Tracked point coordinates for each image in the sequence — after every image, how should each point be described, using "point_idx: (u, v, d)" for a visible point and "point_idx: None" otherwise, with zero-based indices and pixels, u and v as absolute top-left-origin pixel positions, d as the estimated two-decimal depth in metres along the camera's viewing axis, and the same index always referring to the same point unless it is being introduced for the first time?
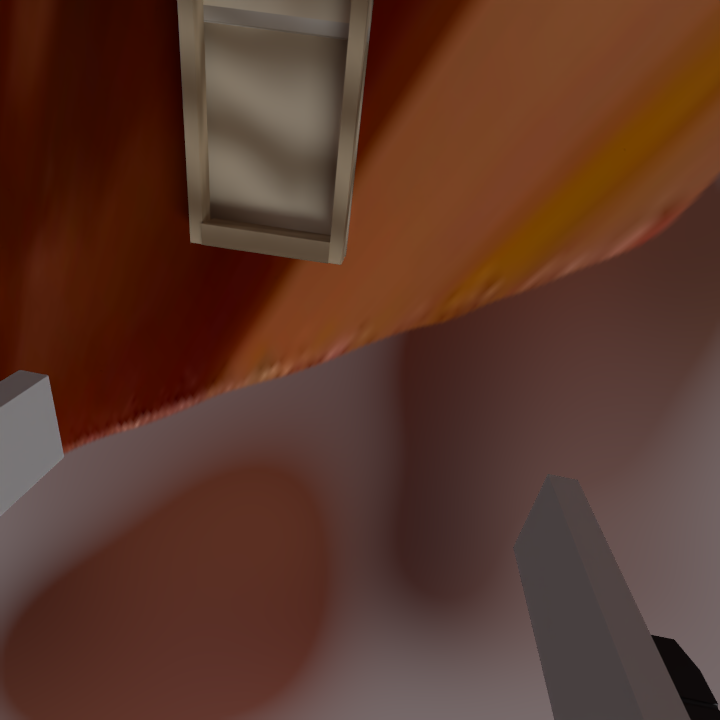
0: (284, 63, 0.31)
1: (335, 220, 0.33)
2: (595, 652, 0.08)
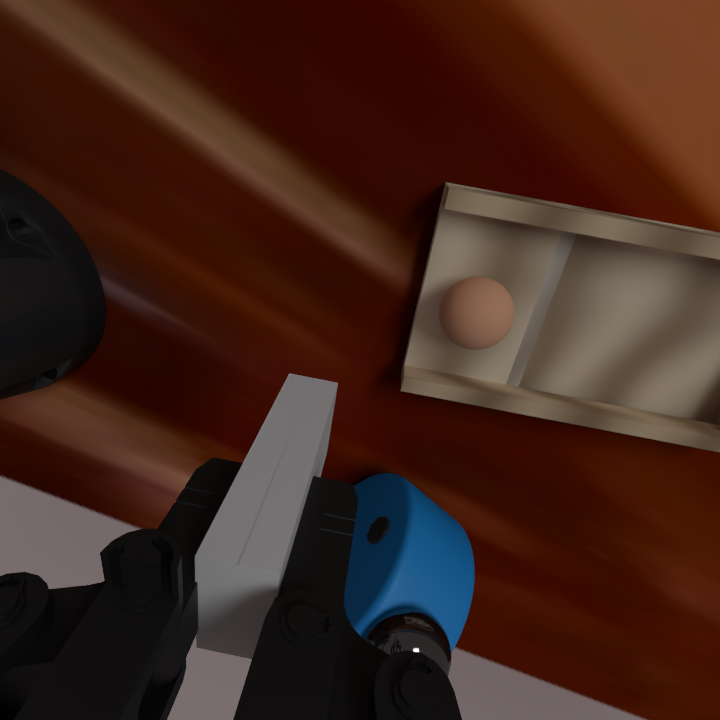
0: (573, 310, 0.27)
1: None
2: None
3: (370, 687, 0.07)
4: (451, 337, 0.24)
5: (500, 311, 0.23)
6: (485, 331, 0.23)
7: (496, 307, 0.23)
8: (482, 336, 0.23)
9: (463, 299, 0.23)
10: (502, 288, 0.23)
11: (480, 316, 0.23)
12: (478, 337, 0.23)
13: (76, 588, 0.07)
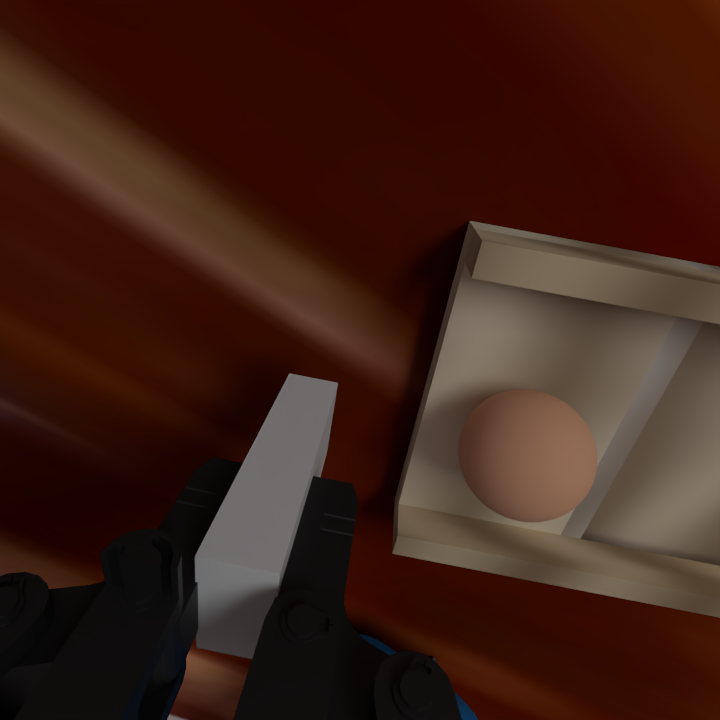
0: (679, 428, 0.16)
1: None
2: None
3: (370, 687, 0.07)
4: (481, 501, 0.13)
5: (577, 471, 0.12)
6: (548, 507, 0.12)
7: (570, 465, 0.12)
8: (542, 513, 0.12)
9: (507, 446, 0.12)
10: (577, 419, 0.13)
11: (541, 482, 0.12)
12: (534, 514, 0.12)
13: (76, 588, 0.07)
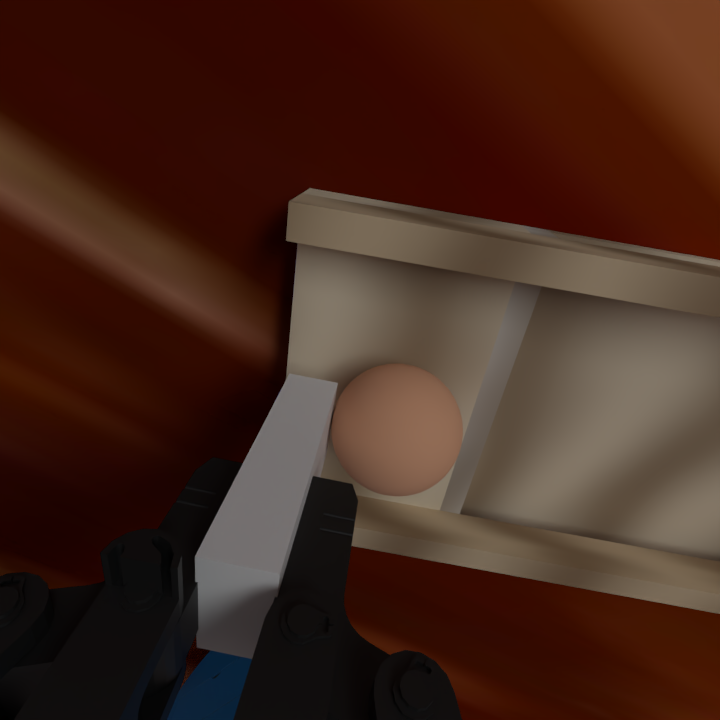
0: (544, 399, 0.16)
1: None
2: None
3: (370, 687, 0.07)
4: (366, 487, 0.13)
5: (450, 436, 0.12)
6: (430, 477, 0.12)
7: (443, 432, 0.12)
8: (425, 484, 0.12)
9: (382, 429, 0.12)
10: (440, 385, 0.13)
11: (421, 457, 0.12)
12: (418, 487, 0.12)
13: (76, 588, 0.07)
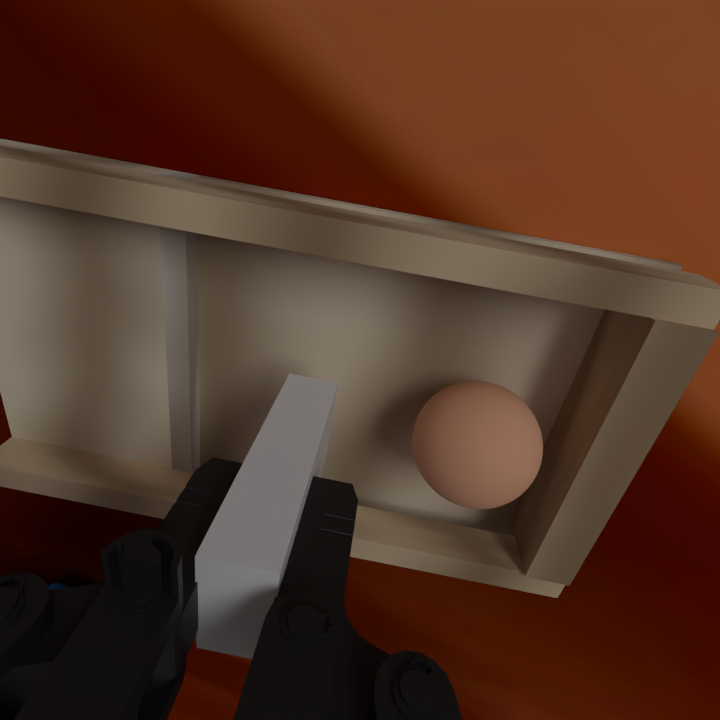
0: (247, 353, 0.16)
1: (592, 296, 0.11)
2: None
3: (370, 687, 0.07)
4: None
5: (541, 435, 0.14)
6: None
7: (540, 434, 0.13)
8: None
9: (509, 455, 0.12)
10: None
11: (537, 464, 0.13)
12: None
13: (76, 588, 0.07)
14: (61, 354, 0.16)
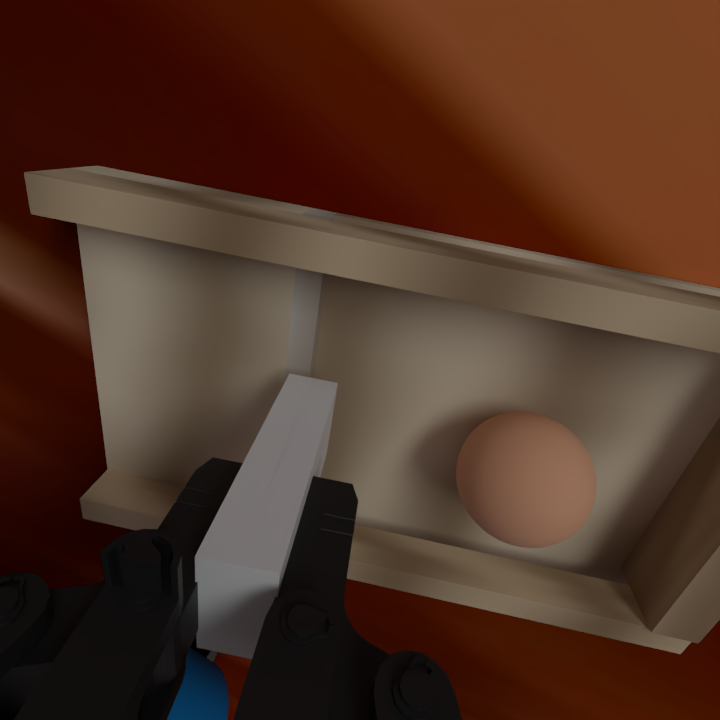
0: (362, 392, 0.15)
1: None
2: None
3: (370, 687, 0.07)
4: None
5: (550, 499, 0.12)
6: (516, 527, 0.12)
7: (542, 490, 0.12)
8: (511, 533, 0.12)
9: (484, 457, 0.13)
10: (570, 449, 0.12)
11: (507, 500, 0.12)
12: (504, 532, 0.12)
13: (76, 588, 0.07)
14: (171, 389, 0.15)
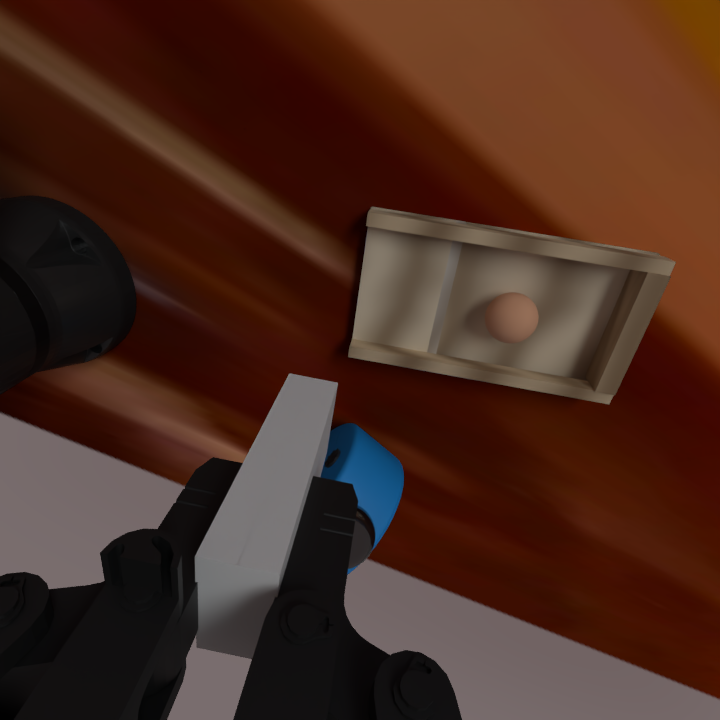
0: (471, 296, 0.37)
1: (624, 264, 0.32)
2: None
3: (370, 687, 0.07)
4: None
5: (495, 308, 0.34)
6: (486, 318, 0.35)
7: (495, 305, 0.34)
8: (486, 322, 0.35)
9: None
10: (515, 299, 0.34)
11: (487, 308, 0.35)
12: (485, 322, 0.35)
13: (76, 588, 0.07)
14: (391, 297, 0.37)
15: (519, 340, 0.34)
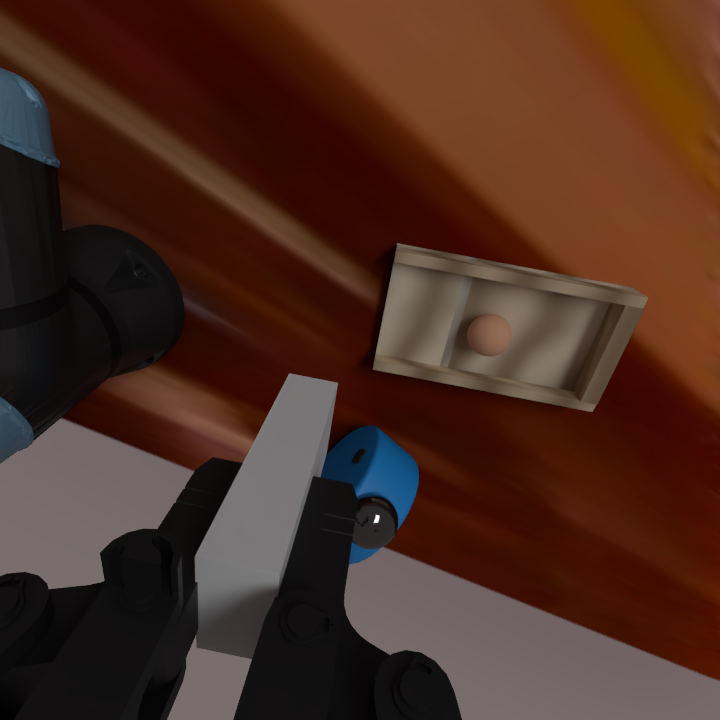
0: None
1: (607, 298, 0.39)
2: None
3: (370, 687, 0.07)
4: None
5: None
6: None
7: None
8: None
9: None
10: (484, 316, 0.41)
11: None
12: None
13: (76, 588, 0.07)
14: (411, 319, 0.43)
15: (477, 350, 0.41)
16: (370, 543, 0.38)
